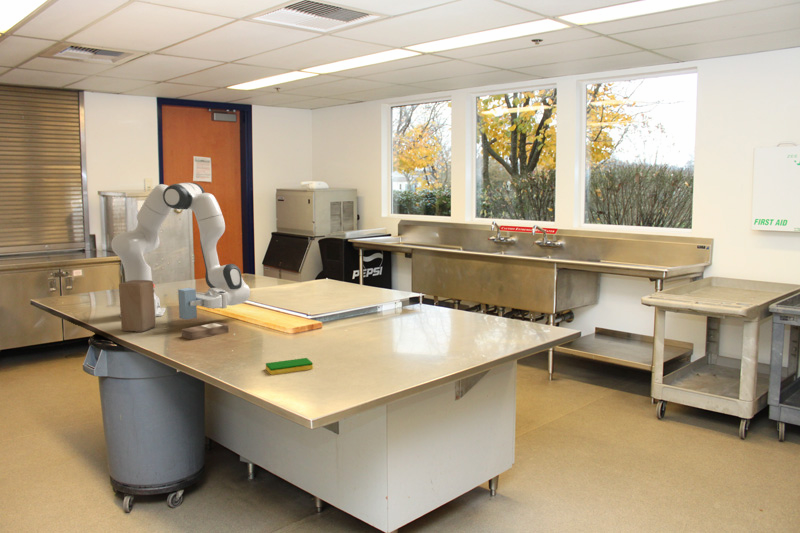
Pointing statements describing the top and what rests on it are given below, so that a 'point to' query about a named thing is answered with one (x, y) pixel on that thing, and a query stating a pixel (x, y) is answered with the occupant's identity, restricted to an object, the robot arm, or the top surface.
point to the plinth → (204, 331)
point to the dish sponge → (289, 366)
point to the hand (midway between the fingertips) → (185, 302)
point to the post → (187, 303)
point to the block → (137, 305)
